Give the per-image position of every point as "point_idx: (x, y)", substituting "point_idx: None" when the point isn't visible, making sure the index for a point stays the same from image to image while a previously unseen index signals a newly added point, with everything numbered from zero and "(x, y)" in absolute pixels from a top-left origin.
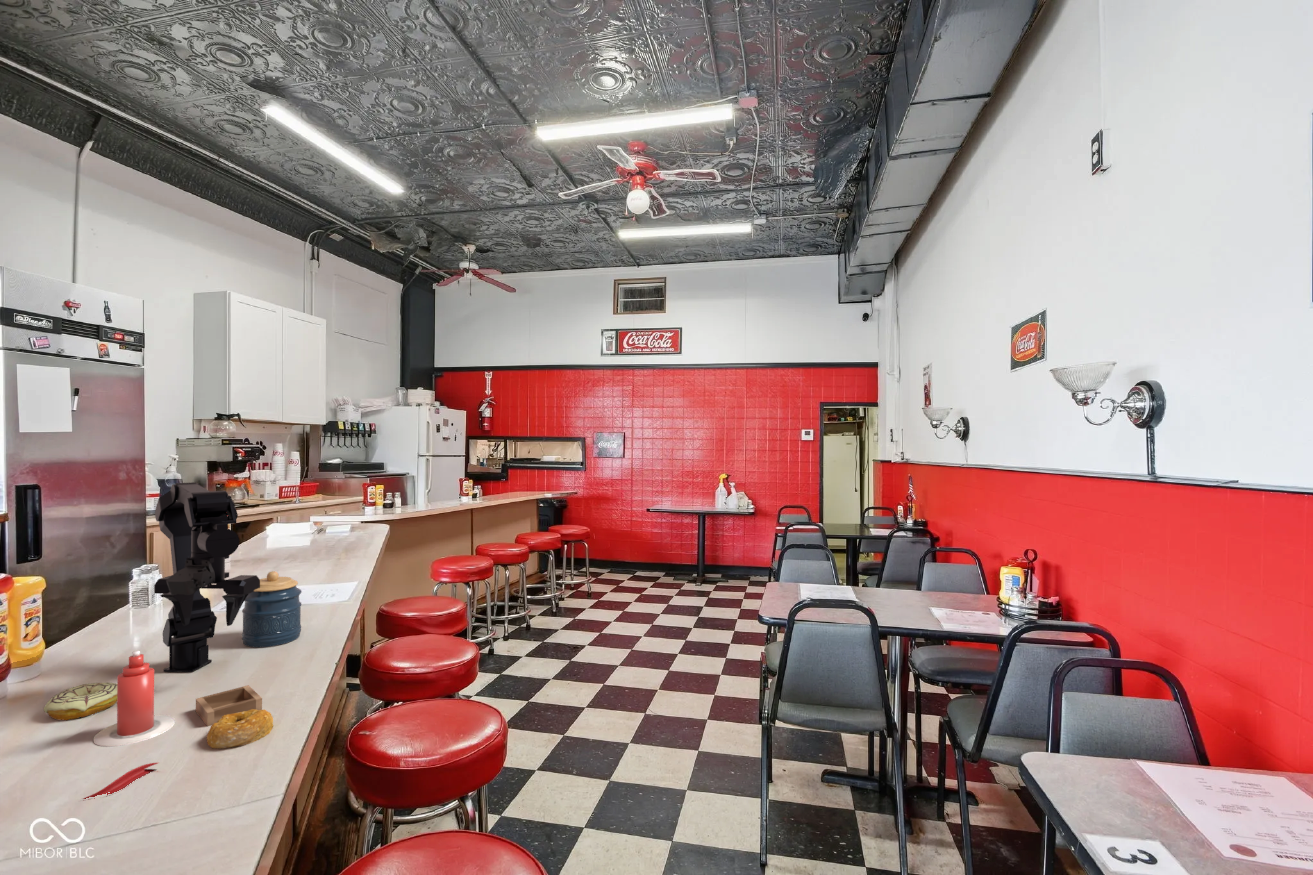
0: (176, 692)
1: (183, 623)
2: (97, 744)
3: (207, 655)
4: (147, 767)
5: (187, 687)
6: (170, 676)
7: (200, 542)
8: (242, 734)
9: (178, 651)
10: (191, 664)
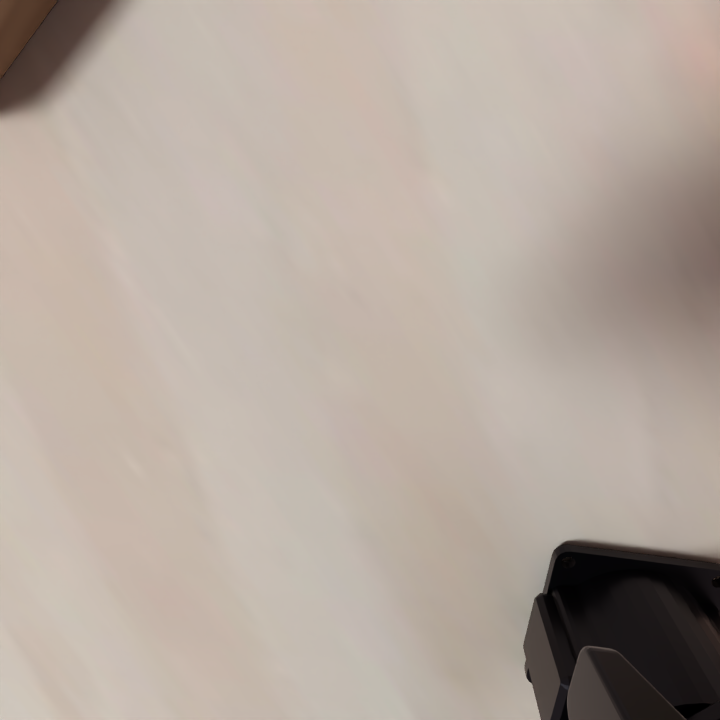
0: (476, 270)
1: (618, 664)
2: None
3: (532, 674)
4: None
5: (454, 341)
6: (649, 506)
7: None
8: None
9: (694, 657)
10: (584, 598)
